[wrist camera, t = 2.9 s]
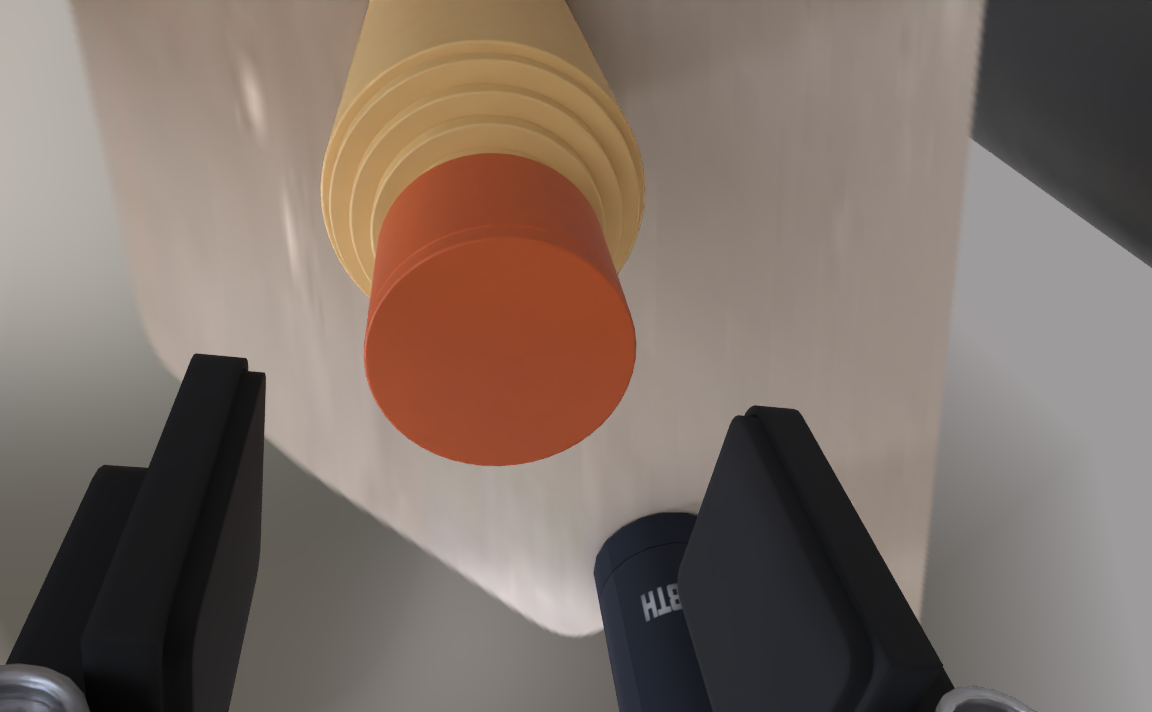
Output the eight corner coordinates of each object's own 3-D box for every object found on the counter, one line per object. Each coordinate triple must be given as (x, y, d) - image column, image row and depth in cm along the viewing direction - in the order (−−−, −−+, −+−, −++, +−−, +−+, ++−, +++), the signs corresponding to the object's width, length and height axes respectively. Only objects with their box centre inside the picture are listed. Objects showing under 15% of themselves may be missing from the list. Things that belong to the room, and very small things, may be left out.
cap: (646, 281, 17) (686, 382, 14) (471, 392, 18) (477, 509, 15) (519, 103, 15) (537, 182, 12) (327, 239, 16) (304, 341, 13)
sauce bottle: (608, 63, 30) (777, 373, 15) (451, 173, 31) (460, 560, 16) (491, -119, 27) (557, 41, 12) (321, 13, 28) (183, 309, 13)
